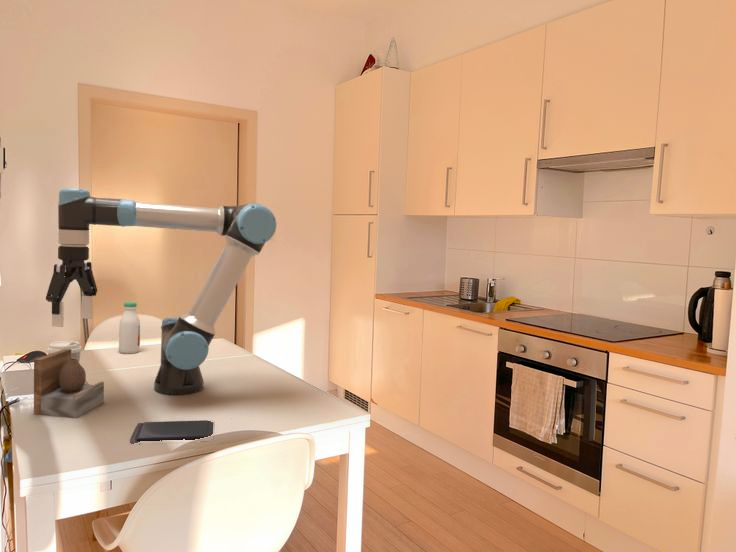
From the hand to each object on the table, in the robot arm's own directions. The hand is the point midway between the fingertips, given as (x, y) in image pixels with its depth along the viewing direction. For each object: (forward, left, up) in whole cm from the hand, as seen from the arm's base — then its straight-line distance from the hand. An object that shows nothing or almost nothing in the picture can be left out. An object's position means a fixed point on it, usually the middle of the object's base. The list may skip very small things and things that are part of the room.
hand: (72, 322), depth 158 cm
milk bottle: (+18, -68, -24) cm, 74 cm away
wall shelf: (-1, 0, -24) cm, 24 cm away
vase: (0, 0, -20) cm, 20 cm away
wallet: (-34, +11, -25) cm, 44 cm away
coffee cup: (+10, -13, -24) cm, 29 cm away
